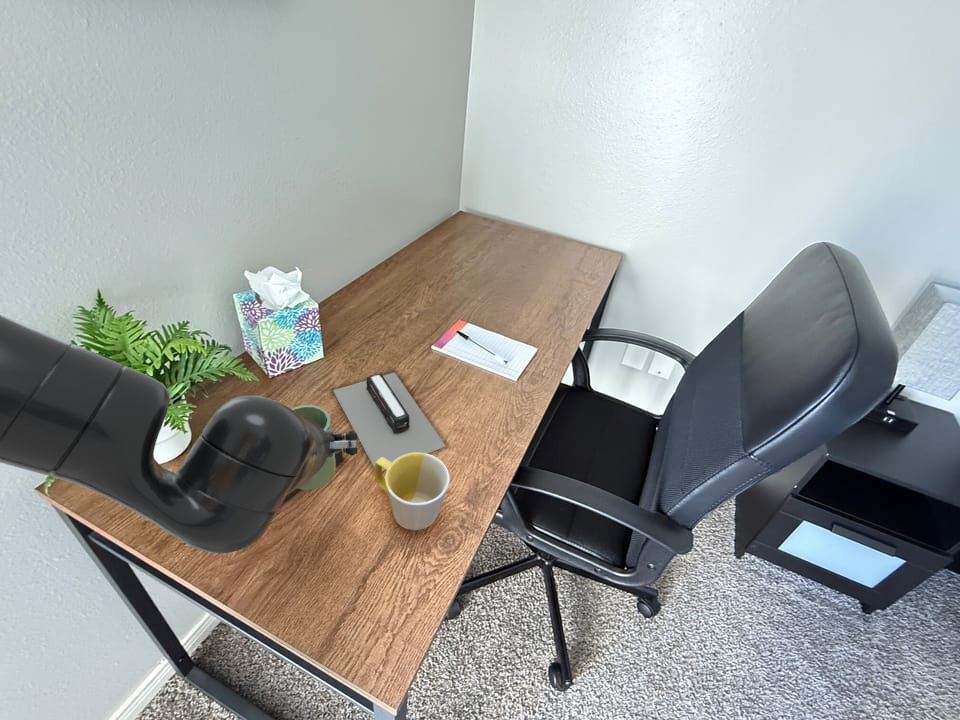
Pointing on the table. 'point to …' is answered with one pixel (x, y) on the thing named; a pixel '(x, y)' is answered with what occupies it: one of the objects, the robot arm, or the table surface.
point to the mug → (414, 487)
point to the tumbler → (330, 465)
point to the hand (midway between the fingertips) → (309, 442)
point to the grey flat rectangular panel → (387, 418)
